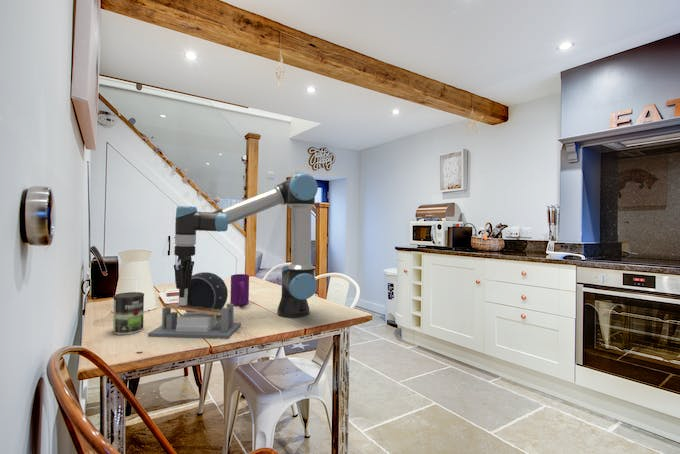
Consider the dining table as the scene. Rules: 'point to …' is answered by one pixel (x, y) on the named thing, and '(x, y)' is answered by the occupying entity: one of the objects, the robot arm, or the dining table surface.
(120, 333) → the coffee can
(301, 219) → the robot arm
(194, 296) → the black short cylinder
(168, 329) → the grey fixture stand
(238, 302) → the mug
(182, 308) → the strap
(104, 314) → the dining table surface
